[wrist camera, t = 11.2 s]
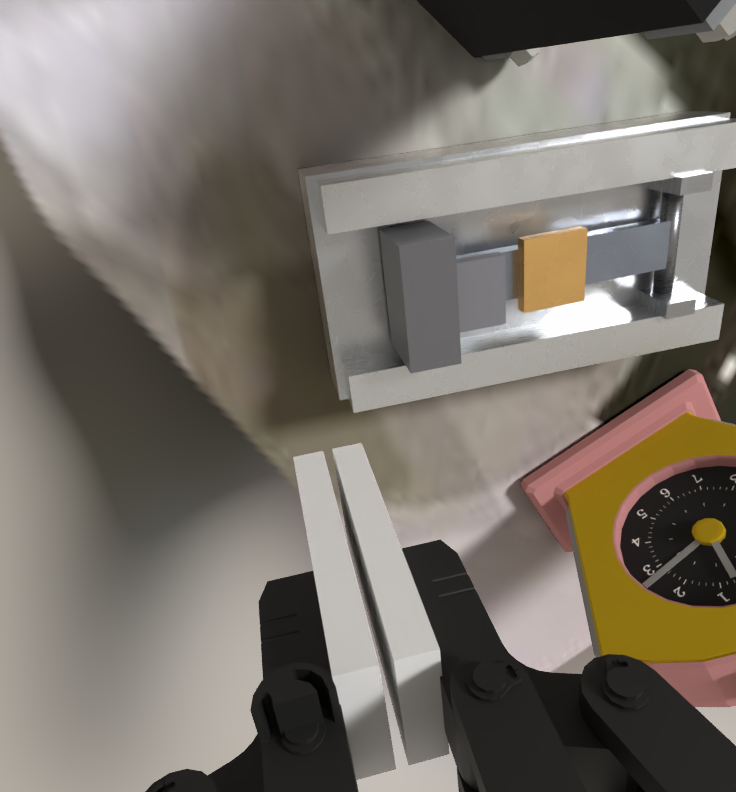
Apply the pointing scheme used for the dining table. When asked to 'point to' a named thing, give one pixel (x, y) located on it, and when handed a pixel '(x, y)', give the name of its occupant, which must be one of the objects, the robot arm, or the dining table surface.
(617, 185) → the rail slide plate
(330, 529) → the robot arm
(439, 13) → the electrical component
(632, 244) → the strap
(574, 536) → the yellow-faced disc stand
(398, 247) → the grey slider block
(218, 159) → the dining table surface
